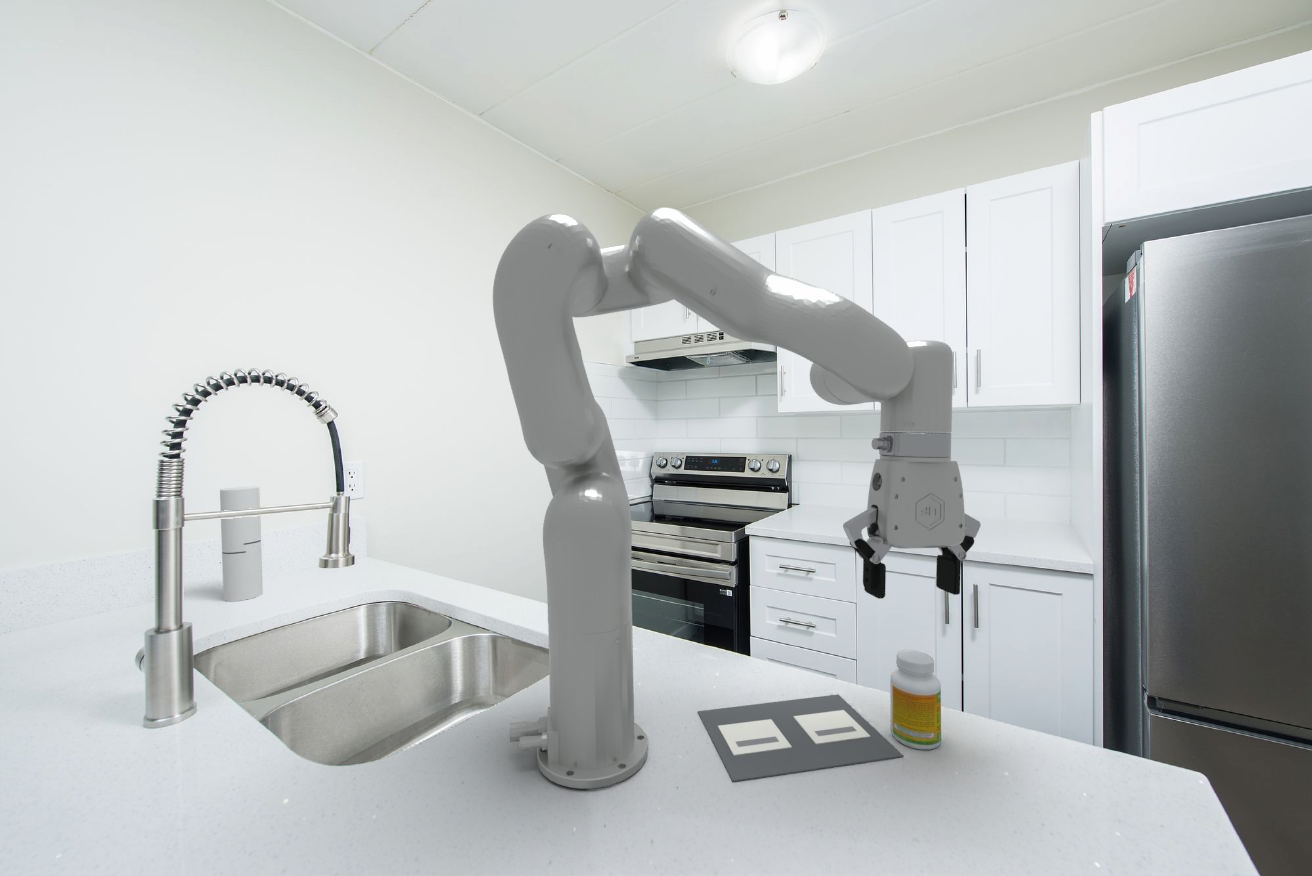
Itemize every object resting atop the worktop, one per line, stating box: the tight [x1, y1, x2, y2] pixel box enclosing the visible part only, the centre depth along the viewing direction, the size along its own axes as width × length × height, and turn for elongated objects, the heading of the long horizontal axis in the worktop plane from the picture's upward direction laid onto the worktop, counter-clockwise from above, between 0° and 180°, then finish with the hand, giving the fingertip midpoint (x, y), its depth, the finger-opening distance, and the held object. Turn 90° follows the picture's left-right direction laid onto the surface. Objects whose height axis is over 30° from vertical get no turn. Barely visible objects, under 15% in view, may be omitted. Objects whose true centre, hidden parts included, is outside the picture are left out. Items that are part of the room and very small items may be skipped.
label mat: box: [697, 693, 905, 783], centre depth 65 cm, size 20×14×1 cm
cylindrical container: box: [219, 486, 264, 602], centre depth 123 cm, size 7×7×25 cm
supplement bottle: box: [889, 649, 942, 751], centre depth 63 cm, size 5×5×10 cm
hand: (911, 593), depth 63 cm, fingers open, 9 cm apart
